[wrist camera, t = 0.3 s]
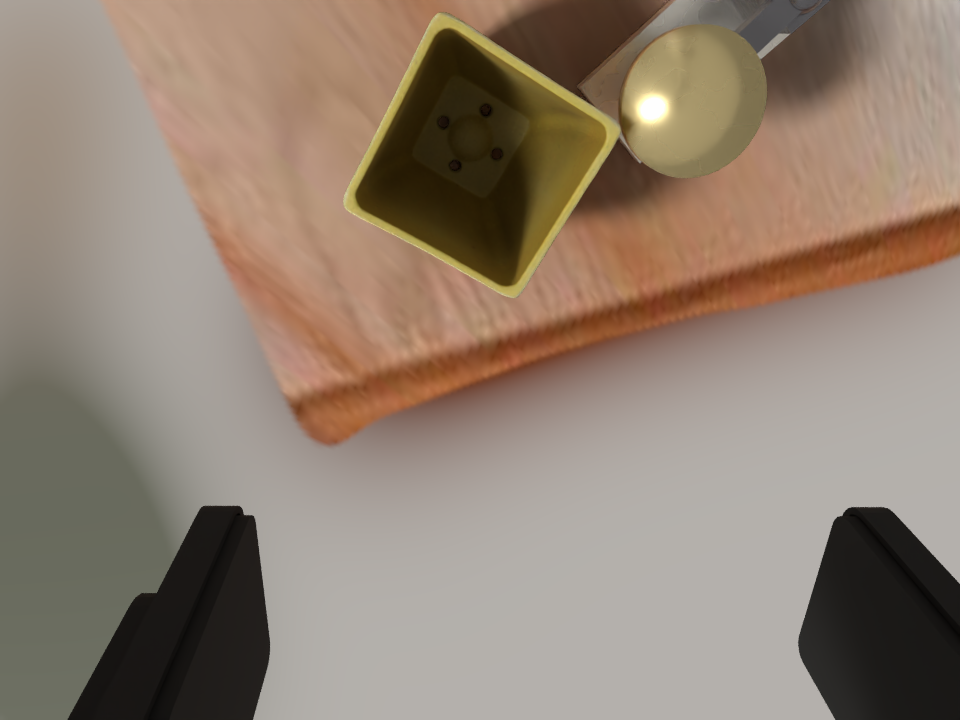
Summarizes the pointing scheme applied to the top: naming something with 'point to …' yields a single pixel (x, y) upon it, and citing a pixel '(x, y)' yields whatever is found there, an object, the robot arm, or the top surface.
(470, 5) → the top surface
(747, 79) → the balance
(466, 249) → the flower pot
